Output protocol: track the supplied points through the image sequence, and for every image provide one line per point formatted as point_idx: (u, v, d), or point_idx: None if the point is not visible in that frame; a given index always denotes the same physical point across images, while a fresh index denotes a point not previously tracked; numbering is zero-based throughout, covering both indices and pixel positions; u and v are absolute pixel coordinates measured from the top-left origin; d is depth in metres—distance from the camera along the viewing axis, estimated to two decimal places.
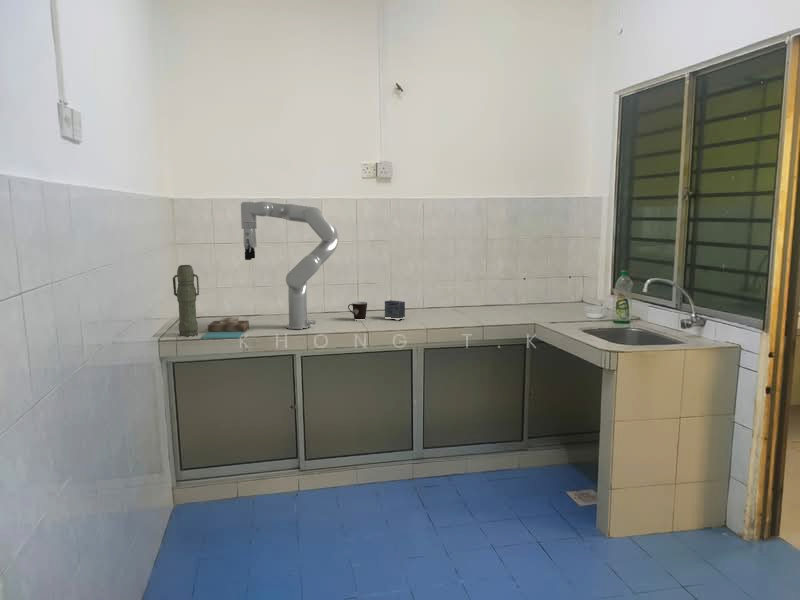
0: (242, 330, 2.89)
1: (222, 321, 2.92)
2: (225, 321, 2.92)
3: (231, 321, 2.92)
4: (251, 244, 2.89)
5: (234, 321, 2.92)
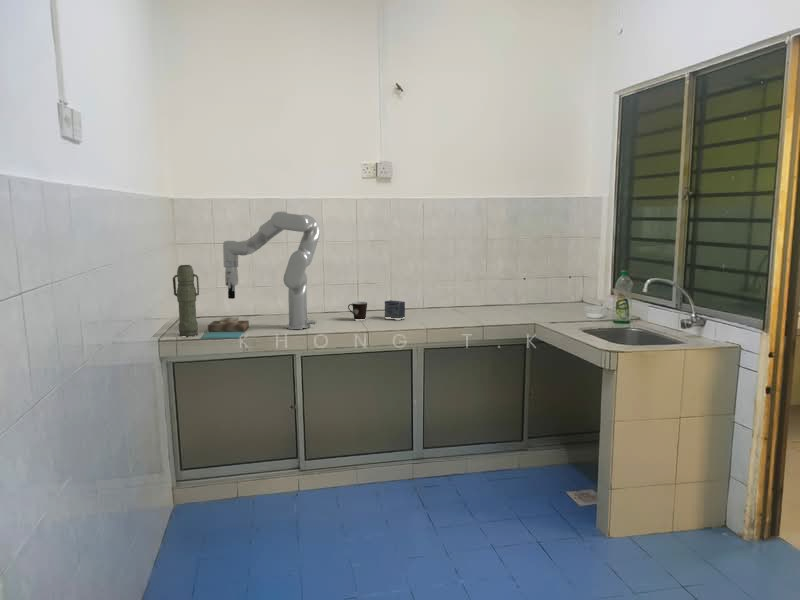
0: (242, 330, 2.89)
1: (222, 321, 2.92)
2: (225, 321, 2.92)
3: (231, 321, 2.92)
4: (232, 282, 2.96)
5: (234, 321, 2.92)
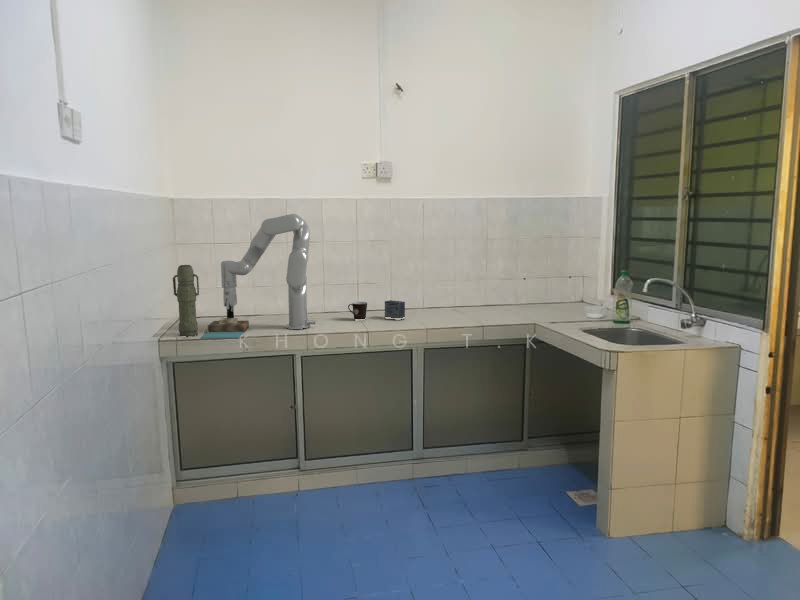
0: (242, 330, 2.89)
1: (221, 321, 2.90)
2: (224, 321, 2.91)
3: (230, 321, 2.91)
4: (231, 303, 2.92)
5: (233, 321, 2.91)
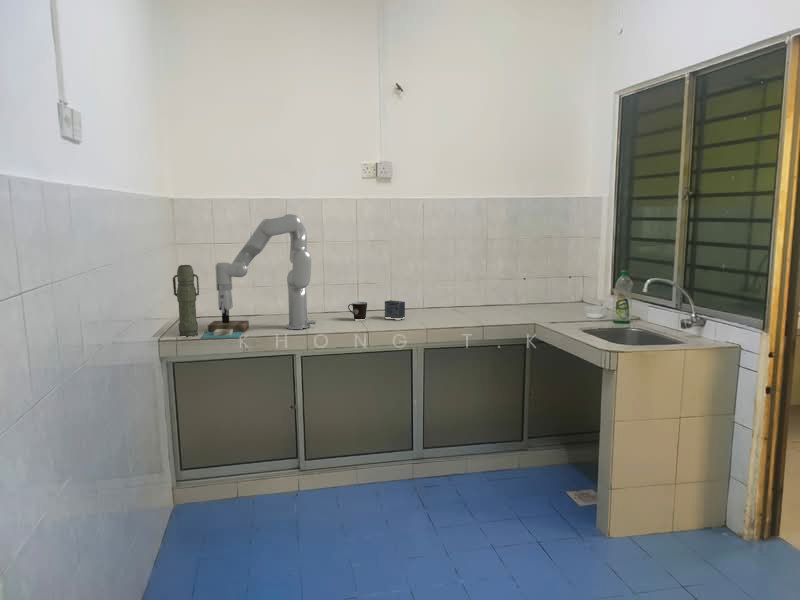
0: (242, 330, 2.89)
1: None
2: None
3: None
4: (226, 306, 2.81)
5: None
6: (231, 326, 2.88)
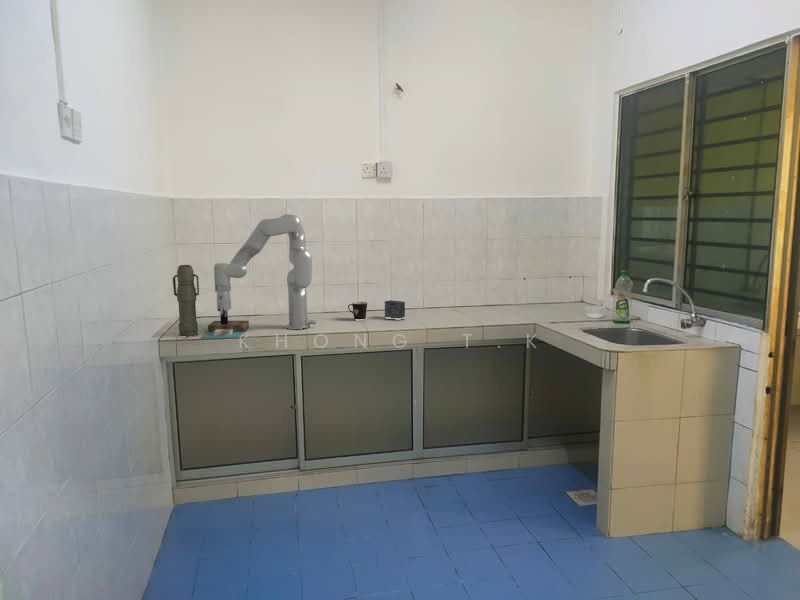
0: (242, 330, 2.89)
1: None
2: None
3: None
4: (225, 308, 2.78)
5: None
6: (231, 326, 2.88)
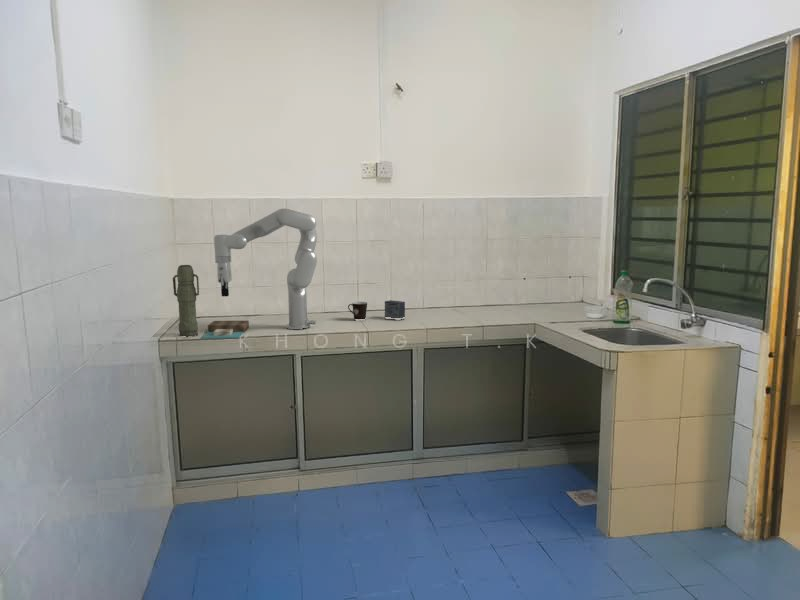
0: (242, 330, 2.89)
1: None
2: None
3: None
4: (225, 279, 2.77)
5: None
6: (231, 326, 2.88)
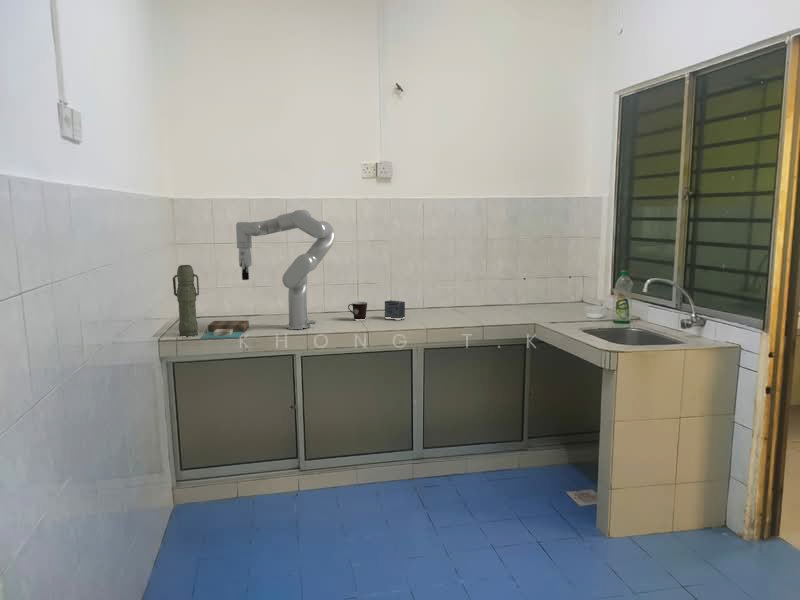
0: (242, 330, 2.89)
1: None
2: None
3: None
4: (246, 263, 2.96)
5: None
6: (231, 326, 2.88)
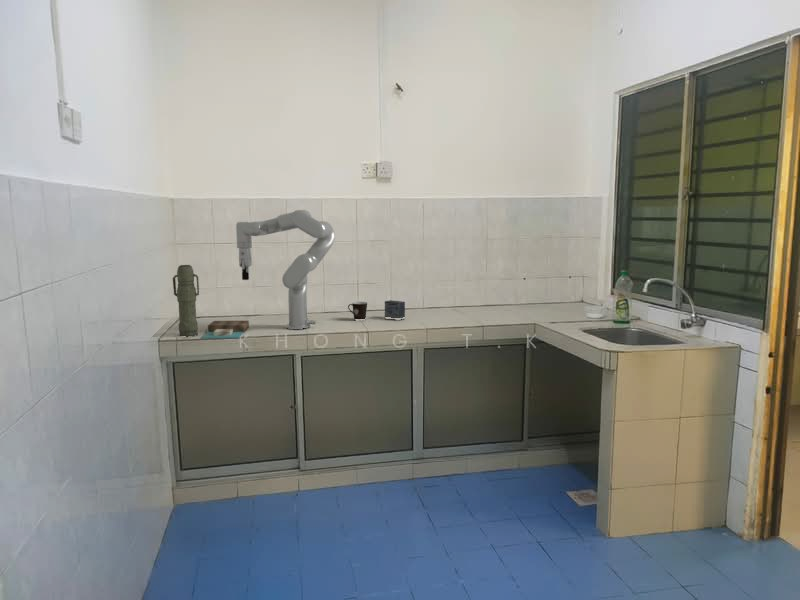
0: (242, 330, 2.89)
1: None
2: None
3: None
4: (246, 263, 2.96)
5: None
6: (231, 326, 2.88)
